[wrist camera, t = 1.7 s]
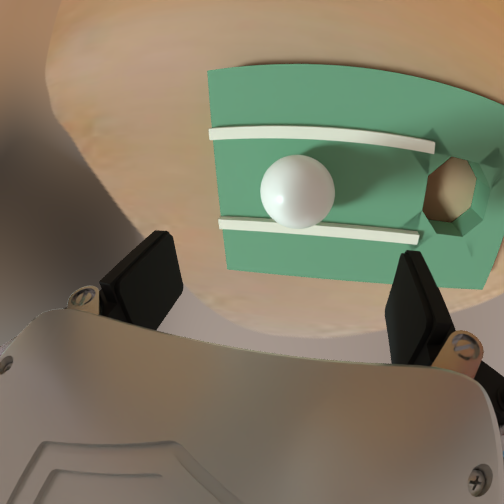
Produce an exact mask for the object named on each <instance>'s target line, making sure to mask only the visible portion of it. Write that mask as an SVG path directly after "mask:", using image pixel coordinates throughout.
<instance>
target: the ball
mask: <svg viewBox="0 0 504 504" xmlns="http://www.w3.org/2000/svg"><path fill="white" fill-rule="evenodd" d="M260 194H261V200H262V203H263V206H264V208H265V210H266V212H267V213H268V214H269V216H270V217H271V218H272V219H273V220H275V221H276V222H277V223H279V224H281V225H283V226H285V227H288V228H293V229H303V228H309V227H311V226H314V225H316V224H318V223H319V222H321V221H322V220H323V219H324V218H325V217H326V216H327V215H328V213H329V212H330V210H331V208H332V206H333V203H334V198H335V187H334V183H333V179H332V177H331V175H330V173H329V172H328V170H327V169H326V168H325V167H324V166H323V165H322V164H321V163H320V162H318V161H317V160H315V159H313V158H311V157H308V156H304V155H289V156H286V157H283V158H281V159H279V160H277V161H276V162H274V163H273V164H272V165H271V166H270V167H269V168H268V169H267V171H266V172H265V174H264V176H263V179H262V182H261V188H260Z"/></svg>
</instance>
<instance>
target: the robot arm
mask: <svg viewBox="0 0 504 504" xmlns="http://www.w3.org/2000/svg"><path fill="white" fill-rule="evenodd" d="M99 283H100V285H101V288H102V289H101V290H100V291H99V290H98V288H96V287H94V286H85V287H83V288H80V289H78V290H76V291H75V292H74V293H73V294H72V295H71V296H70V297H69V300H68V304H67V307H66V308H63V309H55V310H50V311H46V312H43V313H42V314H40V315H39V316H37V317H36V318H35V319H33V320H32V322H31V323H30V324H28V325H27V326H26V327H25V329H24V330H23V331H22V332H21V333H20V334H19V335H18V336H16V337H14V338H13V339H11V340H10V341H8V342H7V343H5V344H4V345H2V346H0V504H504V377H503V376H502V375H500V374H499V373H498V372H496V371H495V370H494V369H493V368H491V367H490V366H488V365H487V364H486V363H484V362H483V361H482V358H483V353H484V352H483V346H482V344H481V342H480V341H479V339H478V338H477V337H476V336H474V335H473V334H471V333H469V332H467V331H462V330H460V331H456V330H455V328H454V325H453V322H452V320H451V317H450V314H449V312H448V309H447V307H446V304H445V302H444V300H443V297H442V295H441V293H440V290H439V288H438V287H437V285H436V282H435V280H434V278H433V276H432V274H431V272H430V270H429V268H428V266H427V264H426V262H425V260H424V258H423V256H422V254H421V252H420V251H413V250H406V251H405V253H401V255H400V258H399V262H398V266H397V270H396V273H395V277H394V281H393V284H392V288H391V291H390V294H389V298H388V301H387V304H386V308H385V319H386V325H387V332H388V339H389V346H390V353H391V361H392V364H384V363H363V362H349V361H337V360H325V359H315V358H306V357H297V356H289V355H282V354H274V353H267V352H261V351H254V350H248V349H242V348H236V347H231V346H225V345H220V344H214V343H209V342H204V341H200V340H195V339H191V338H186V337H181V336H176V335H172V334H168V333H164V332H160V331H156V330H157V328H158V327H159V325H160V324H161V323H162V321H163V320H164V318H165V317H166V315H167V314H168V312H169V311H170V309H171V308H172V307H173V305H174V303H175V302H176V301H177V299H178V298H179V296H180V295H181V294H182V291H183V282H182V278H181V273H180V269H179V264H178V259H177V255H176V250H175V245H174V240H173V236H172V235H170V234H169V232H168V231H154V232H153V233H152V234H150V235H149V236H148V237H147V238H146V239H145V240H144V241H142V242H141V243H140V244H139V245H138V246H137V247H136V248H135V249H134V250H132V251H131V252H130V253H129V254H128V255H127V256H126V257H125V258H124V259H123V260H122V261H120V262H119V263H118V264H117V265H116V266H115V267H114V268H113V269H112V270H111V271H110V272H109V273H108V274H107V275H106V276H105V277H104V278H103V279H102V280H100V282H99Z"/></svg>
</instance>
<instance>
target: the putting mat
mask: <svg viewBox="0 0 504 504" xmlns="http://www.w3.org/2000/svg"><path fill="white" fill-rule="evenodd" d="M207 72H208V86H209V99H210V111H211V123H212V128H210V129H209V138H210V140H213V145H214V155H215V165H216V175H217V184H218V194H219V203H220V212H221V217H220V218H219V219H218V221H219V229H223V238H224V246H225V254H226V262H227V269H229V270H239V271H248V272H258V273H268V274H279V275H289V276H300V277H311V278H322V279H334V280H346V281H358V282H371V283H384V284H393V281H394V277H395V273H396V270H397V266H398V262H399V258H400V255H401V253H405V251H406V250H413V251H420V252H421V254H422V256H423V258H424V260H425V262H426V264H427V266H428V268H429V270H430V272H431V274H432V276H433V278H434V280H435V282H436V285H437V287H444V288H461V289H481V290H482V289H483V287H484V285H485V283H486V281H487V278H488V276H489V274H490V271H491V269H492V266H493V264H494V261H495V259H496V256H497V253H498V251H499V248H500V245H501V242H502V239H503V236H504V105H502V104H499V103H497V102H495V101H492V100H490V99H487V98H485V97H482V96H479V95H477V94H474V93H471V92H468V91H465V90H462V89H459V88H456V87H453V86H449V85H446V84H443V83H439V82H435V81H431V80H427V79H423V78H419V77H415V76H410V75H405V74H400V73H394V72H389V71H382V70H376V69H368V68H360V67H350V66H338V65H321V64H272V65H255V66H242V67H232V68H224V69H216V70H209V71H207ZM289 155H304V156H308V157H311V158H313V159H315V160H317V161H318V162H320V163H321V164H322V165H323V166H324V167H325V168H326V169H327V170H328V172H329V173H330V175H331V177H332V179H333V183H334V187H335V198H334V203H333V206H332V208H331V210H330V212H329V213H328V215H327V216H326V217H325V218H324V219H323V220H322V221H321V222H319V223H318V224H316V225H314V226H311V227H309V228H303V229H293V228H288V227H285V226H283V225H281V224H279V223H277V222H276V221H275V220H273V219H272V218H271V217H270V216H269V214H268V213H267V212H266V210H265V208H264V206H263V203H262V200H261V194H260V188H261V182H262V179H263V176H264V174H265V172H266V171H267V169H268V168H269V167H270V166H271V165H272V164H273V163H274V162H276V161H277V160H279V159H281V158H283V157H286V156H289ZM450 157H456V158H460V159H464V160H467V161H468V163H469V164H470V166H471V168H472V170H473V172H474V174H475V176H476V178H477V180H476V185H475V190H474V195H473V200H472V204H471V207H470V208H469V209H468V210H467V211H466V212H464V213H463V214H462V215H461V216H459V217H458V218H457V219H456V220H454V221H453V222H452V223H449V222H443V221H435V220H428V219H427V218H426V216H425V214H424V213H423V211H422V208H423V203H424V197H425V191H426V185H427V179H428V175H430V174H431V173H432V172H433V171H435V170H436V169H437V168H438V167H439V166H441V165H442V164H443V163H444V162H445V161H447V160H448V159H449V158H450Z"/></svg>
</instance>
